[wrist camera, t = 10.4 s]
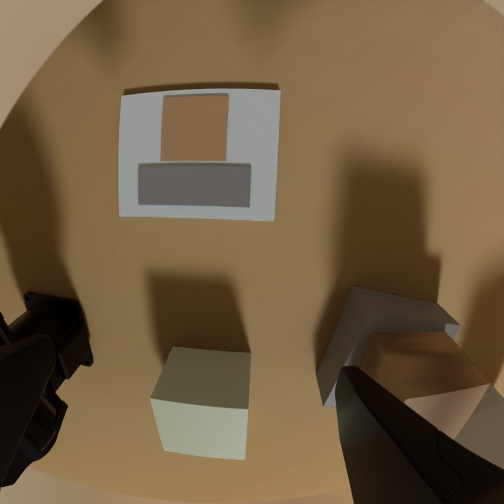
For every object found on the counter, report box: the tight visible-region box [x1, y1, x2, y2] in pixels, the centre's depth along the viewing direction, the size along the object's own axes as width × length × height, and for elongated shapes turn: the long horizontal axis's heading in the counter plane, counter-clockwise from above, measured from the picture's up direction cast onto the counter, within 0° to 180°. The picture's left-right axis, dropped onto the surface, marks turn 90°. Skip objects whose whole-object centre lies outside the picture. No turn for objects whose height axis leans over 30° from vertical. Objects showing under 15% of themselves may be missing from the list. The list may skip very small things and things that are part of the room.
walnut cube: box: [359, 331, 490, 440], centre depth 15 cm, size 6×6×6 cm
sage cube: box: [150, 346, 251, 460], centre depth 20 cm, size 6×6×6 cm
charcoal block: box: [316, 286, 461, 408], centre depth 19 cm, size 8×8×4 cm
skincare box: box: [454, 382, 504, 469], centre depth 17 cm, size 8×6×15 cm
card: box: [118, 89, 280, 221], centre depth 17 cm, size 10×8×1 cm
